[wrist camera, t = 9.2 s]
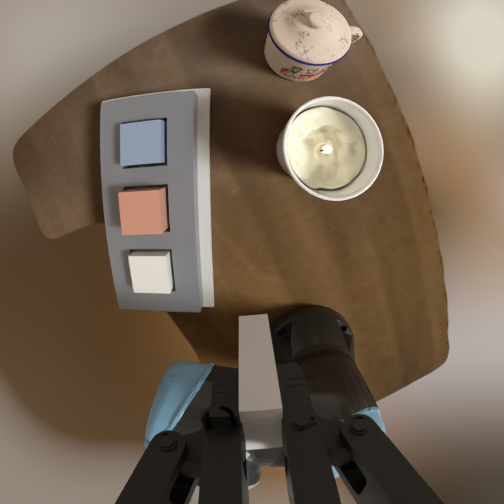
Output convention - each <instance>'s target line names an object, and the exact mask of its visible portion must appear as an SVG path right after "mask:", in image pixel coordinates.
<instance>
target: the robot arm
mask: <svg viewBox="0 0 504 504" xmlns="http://www.w3.org/2000/svg"><path fill="white" fill-rule="evenodd" d="M145 436H146V438H145V447H146V450H145V452H144V454H143V456H142V458H141V459H140V461H139V462H138V464H137V466H136V468H135V469H134V471H133V473H132V475H131V476H130V478H129V480H128V482H127V483H126V485H125V487H124V489H123V490H122V492H121V494H120V496H119V497H118V499H117V501H116V503H115V504H249V492H248V490H249V489H251V488H253V487H255V486H256V485H257V484H258V483H259V481H260V475H261V469H262V467H266V466H268V467H285V473H286V480H287V487H288V496H289V503H290V504H341V502H340V497H339V493H338V490H337V485H336V481H335V478H337V477H339V476H340V477H341V479H342V481H343V482H344V484H345V485H346V487H347V488H348V490H349V491H350V493H351V495H352V496H353V498H354V499H355V501H356V503H357V504H444V503H443V502H442V501H441V500H440V499H439V498H438V496H437V495H436V494H435V493H434V492H433V491H432V489H431V488H430V487H429V486H428V484H427V483H426V482H425V481H424V480H423V479H422V477H421V476H420V475H419V474H418V473H417V471H416V470H415V469H414V468H413V467H412V465H411V464H410V463H409V462H408V461H407V459H406V458H405V457H404V456H403V455H402V454H401V452H400V451H399V450H398V449H397V448H396V446H395V445H394V444H393V443H392V442H391V440H390V439H389V438H388V437H387V436H386V429H385V426H384V423H383V421H382V418H381V411H380V410H379V408H378V406H377V404H376V402H375V400H374V398H373V396H372V394H371V392H370V391H369V389H368V387H367V385H366V383H365V381H364V379H363V377H362V375H361V373H360V371H359V369H358V367H357V365H356V363H355V353H354V337H353V333H352V331H351V329H350V327H349V325H348V323H347V322H346V320H345V319H344V318H343V317H342V316H341V315H340V314H339V313H338V312H336V311H334V310H332V309H329V308H326V307H320V306H308V307H302V308H298V309H295V310H292V311H290V312H287V313H286V314H284V315H282V316H281V317H279V318H278V319H277V320H275V321H274V322H273V323H272V324H271V325H270V326H269V321H268V315H267V314H260V315H248V316H239V368H230V367H224V366H217V365H215V364H214V363H210V364H203V363H195V362H188V361H180V362H177V363H175V364H173V365H172V366H171V367H170V368H169V369H168V370H167V372H166V373H165V375H164V377H163V379H162V381H161V383H160V386H159V388H158V391H157V393H156V396H155V399H154V402H153V405H152V408H151V411H150V415H149V419H148V423H147V427H146V434H145Z"/></svg>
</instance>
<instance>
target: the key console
mask: <svg viewBox="0 0 504 504" xmlns="http://www.w3.org/2000/svg"><path fill="white" fill-rule="evenodd" d="M210 90H211V89H210V88H200V89H185V90H174V91H164V92H156V93H148V94H141V95H134V96H128V97H122V98H116V99H111V100H106V101H102V103H101V114H100V161H101V183H102V197H103V209H104V219H105V227H106V236H107V243H108V251H109V257H110V263H111V270H112V275H113V281H114V286H115V291H116V296H117V301H118V306H119V309H126V310H145V311H169V312H201V309H202V307H214V286H213V265H212V239H211V204H210ZM160 119H161V120H163V121H165V122H167V162H163V163H150V164H138V165H127V166H121V164H120V124H126V123H134V122H142V121H150V120H160ZM158 187H166V204H167V222H168V228H167V229H166V230H165V231H164V232H163V233H162V234H145V235H122V230H121V220H120V209H119V196H118V193H119V192H122V191H125V190H128V189H141V188H158ZM135 249H172V260H173V270H174V280H175V284H174V286H173V289H172V291H171V293H170V294H166V293H134V291H133V285H132V278H131V272H130V265H129V258H128V256H129V255H130V254H131V253H132V252H133V251H134V250H135Z"/></svg>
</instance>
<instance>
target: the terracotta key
mask: <svg viewBox="0 0 504 504" xmlns="http://www.w3.org/2000/svg"><path fill="white" fill-rule="evenodd" d="M118 196H119V209H120V220H121V230H122V235H145V234H162V233H163V232H164V231H165V230H166V229H167V228H168V222H167V204H166V187H158V188H141V189H128V190H125V191H122V192H119V193H118Z"/></svg>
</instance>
